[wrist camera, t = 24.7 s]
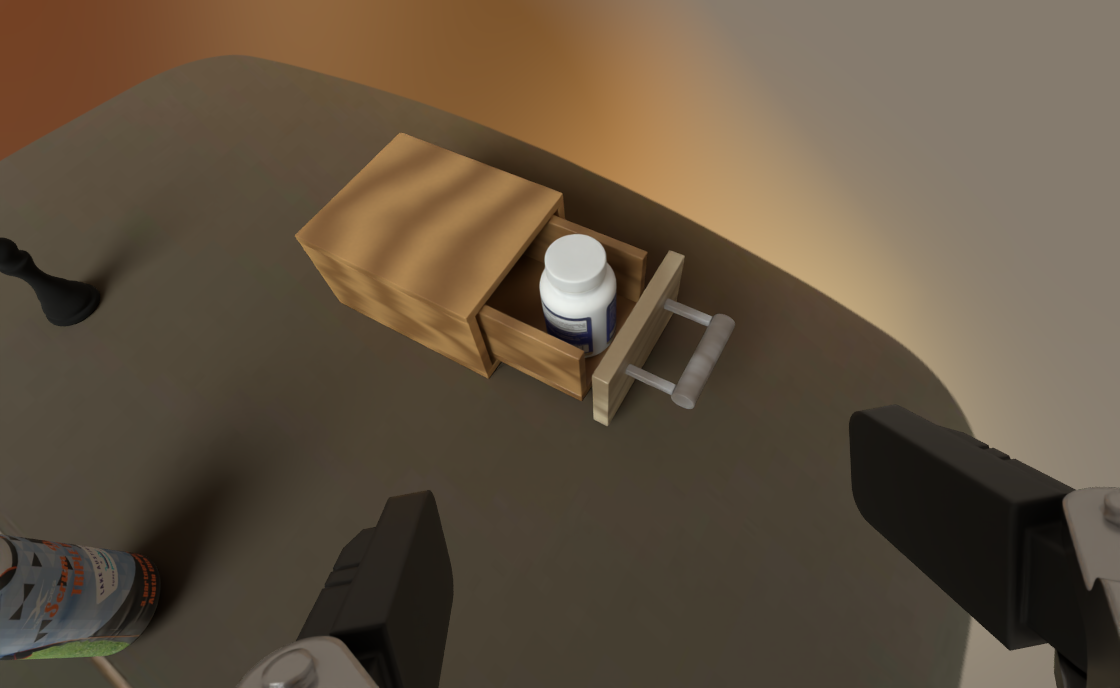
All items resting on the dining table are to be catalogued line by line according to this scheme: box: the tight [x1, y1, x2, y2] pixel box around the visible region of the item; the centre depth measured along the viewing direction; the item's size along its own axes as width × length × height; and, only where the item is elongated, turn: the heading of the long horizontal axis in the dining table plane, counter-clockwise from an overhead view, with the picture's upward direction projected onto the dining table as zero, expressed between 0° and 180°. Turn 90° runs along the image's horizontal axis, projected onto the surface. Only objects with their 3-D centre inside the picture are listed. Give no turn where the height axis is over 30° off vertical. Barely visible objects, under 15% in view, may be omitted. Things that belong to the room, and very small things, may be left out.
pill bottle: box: [540, 234, 617, 358], centre depth 40 cm, size 5×5×9 cm
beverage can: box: [0, 534, 161, 660], centre depth 33 cm, size 6×7×12 cm
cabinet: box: [295, 132, 565, 379], centre depth 46 cm, size 16×13×9 cm
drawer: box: [475, 215, 735, 426], centre depth 42 cm, size 20×11×7 cm, turn 60°
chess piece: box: [0, 238, 100, 326], centre depth 47 cm, size 4×4×10 cm
